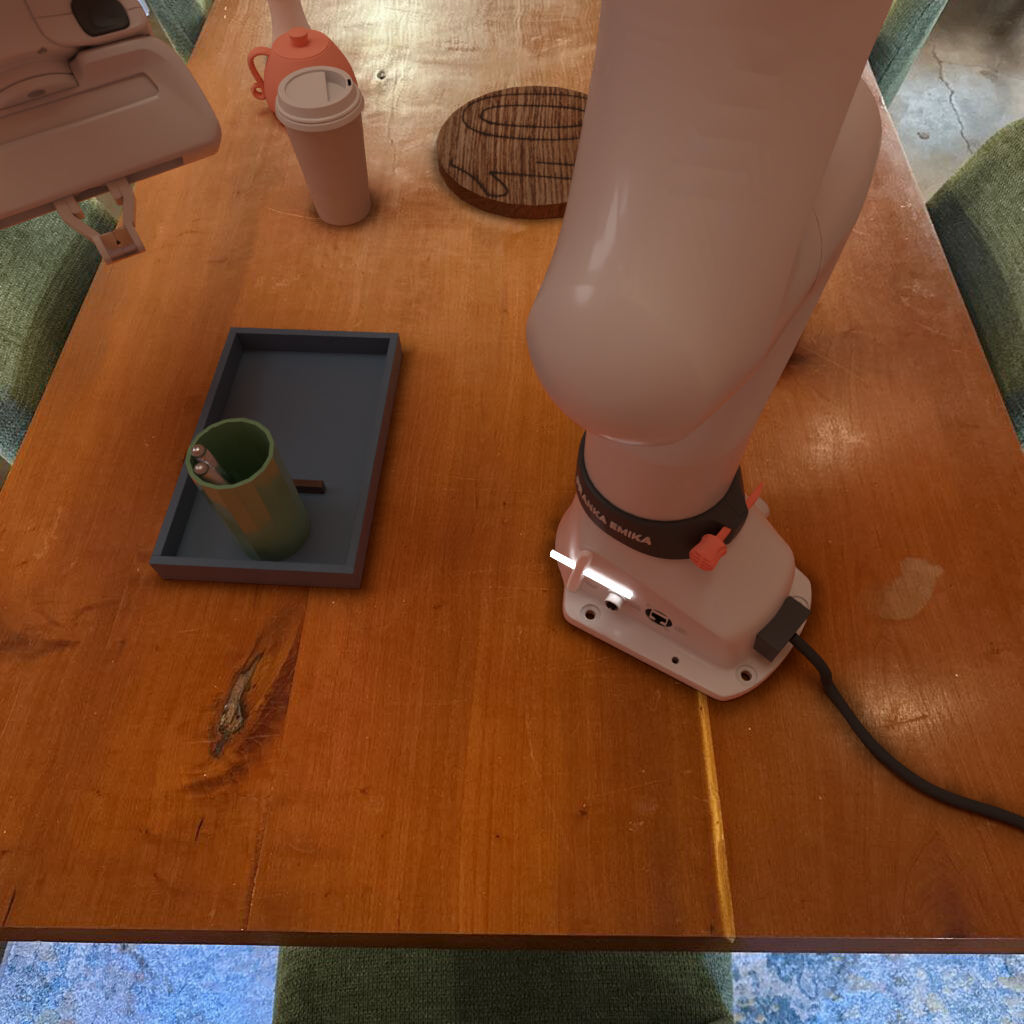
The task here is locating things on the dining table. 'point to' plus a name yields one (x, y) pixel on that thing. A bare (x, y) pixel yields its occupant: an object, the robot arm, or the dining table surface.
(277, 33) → the vase
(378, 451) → the tray
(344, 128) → the coffee cup
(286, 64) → the sugar bowl
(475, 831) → the dining table surface
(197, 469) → the ball-tipped brown rod
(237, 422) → the green cup
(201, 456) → the tong
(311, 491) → the bar
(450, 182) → the trivet
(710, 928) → the dining table surface
